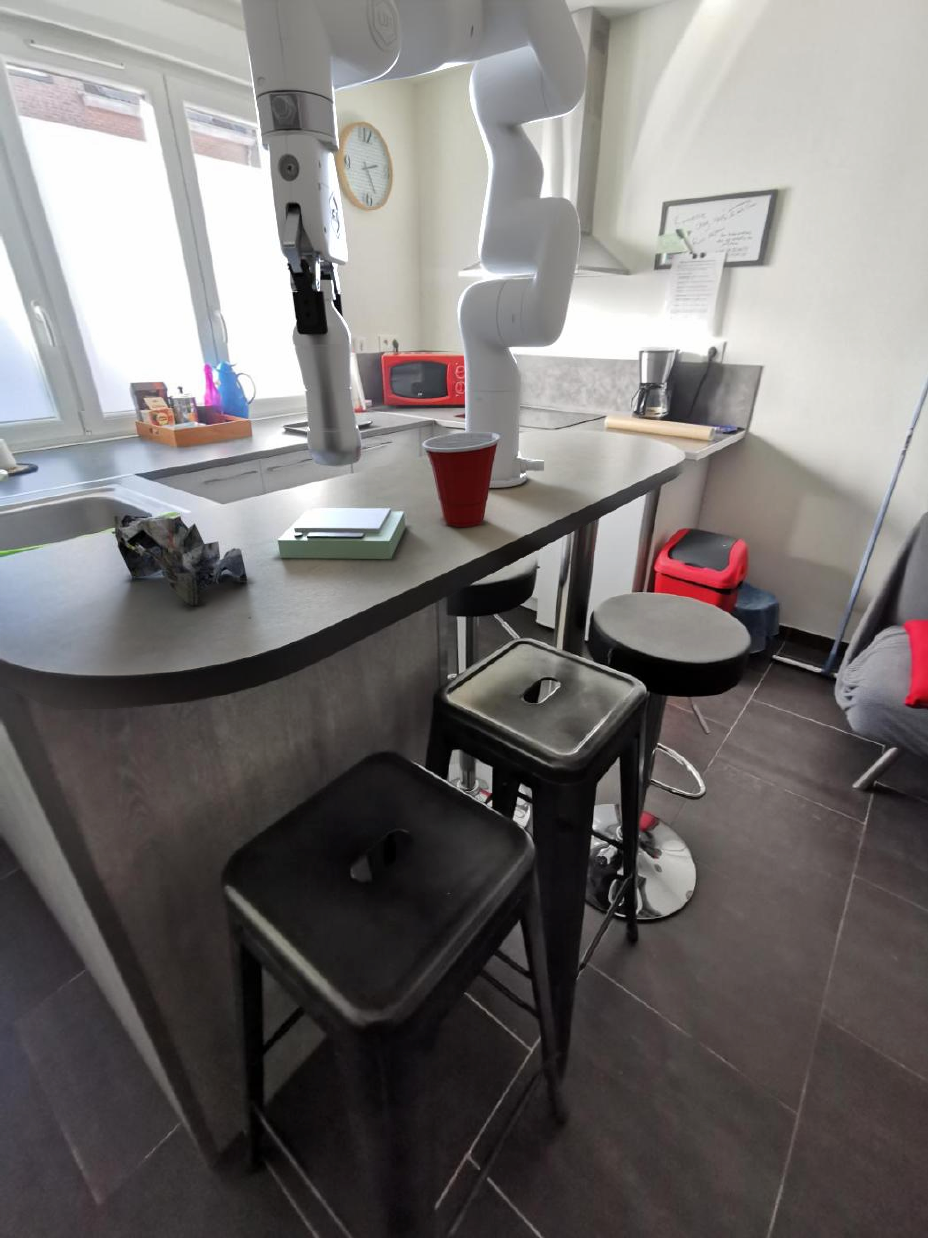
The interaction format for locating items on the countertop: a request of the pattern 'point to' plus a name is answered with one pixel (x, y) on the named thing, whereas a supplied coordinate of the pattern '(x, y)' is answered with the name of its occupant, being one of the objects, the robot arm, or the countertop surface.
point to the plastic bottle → (329, 389)
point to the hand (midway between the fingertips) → (322, 331)
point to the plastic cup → (462, 474)
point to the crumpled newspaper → (174, 554)
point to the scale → (344, 534)
